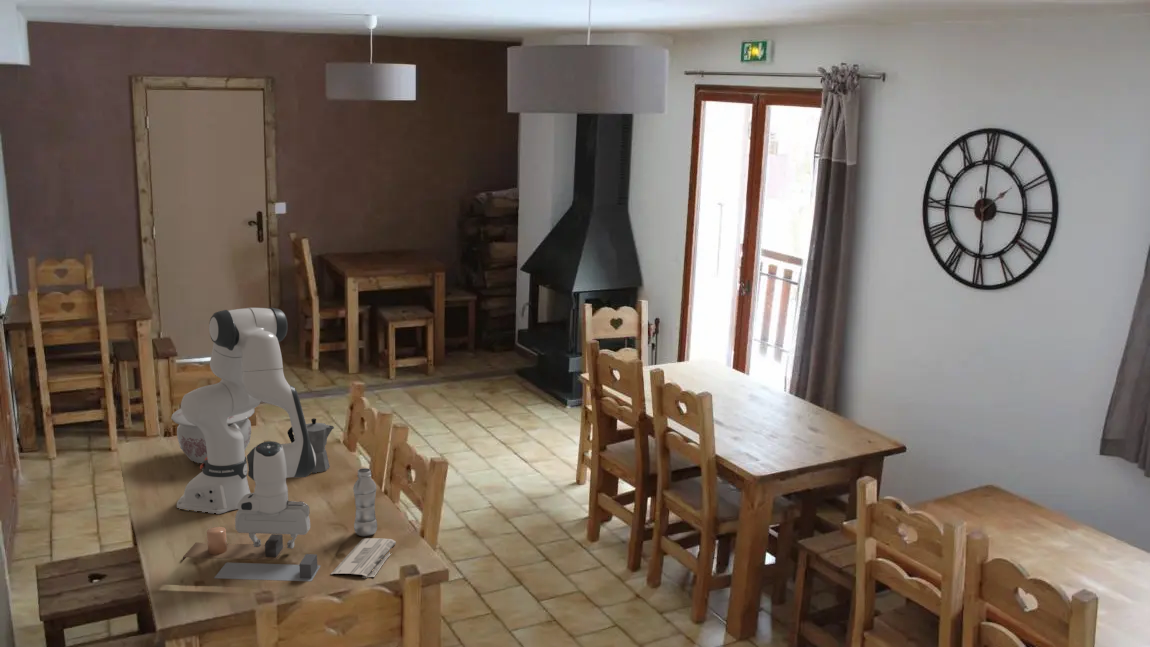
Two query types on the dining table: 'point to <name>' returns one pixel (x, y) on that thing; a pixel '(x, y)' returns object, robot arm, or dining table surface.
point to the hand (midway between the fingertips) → (274, 546)
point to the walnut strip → (242, 550)
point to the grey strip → (272, 570)
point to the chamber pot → (194, 438)
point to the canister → (217, 540)
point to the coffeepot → (317, 443)
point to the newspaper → (366, 557)
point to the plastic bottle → (365, 503)
